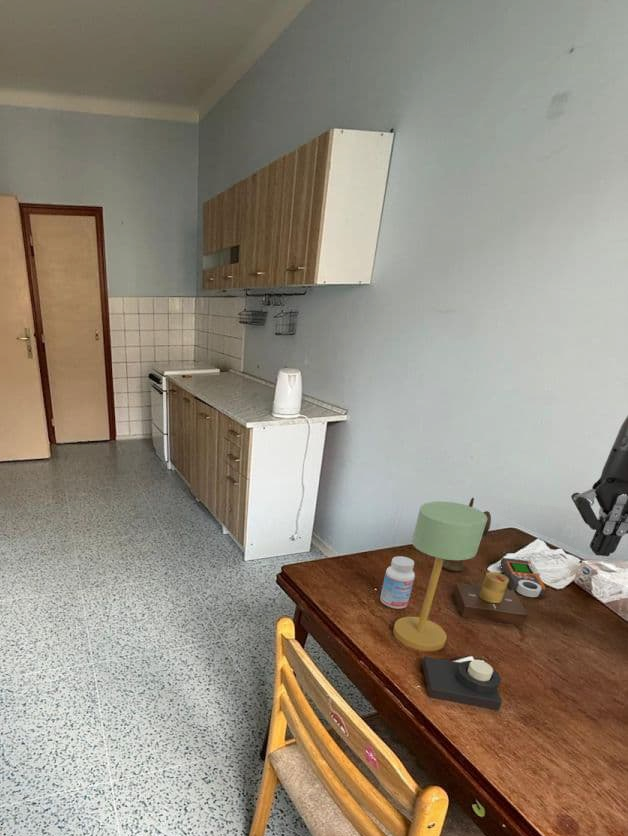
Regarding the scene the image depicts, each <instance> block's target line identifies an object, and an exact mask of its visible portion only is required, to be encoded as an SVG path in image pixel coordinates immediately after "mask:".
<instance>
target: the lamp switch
mask: <svg viewBox="0 0 628 836" xmlns="http://www.w3.org/2000/svg"><path fill="white" fill-rule="evenodd" d="M470 661H471V662H470V665H469V667H468V670H467V672H468V674H469V675H470V676H471V677H473V678H475V679H477V680H480V681H489V680H490V678H491V676H492V673H493V669H494V668H493V667H492V665H490V664H489V663H488V662H485V661H483V660H477V659H476V660H475V659H474V660H470Z"/></svg>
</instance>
